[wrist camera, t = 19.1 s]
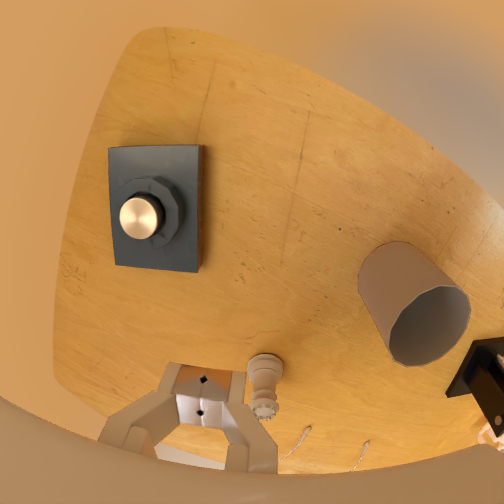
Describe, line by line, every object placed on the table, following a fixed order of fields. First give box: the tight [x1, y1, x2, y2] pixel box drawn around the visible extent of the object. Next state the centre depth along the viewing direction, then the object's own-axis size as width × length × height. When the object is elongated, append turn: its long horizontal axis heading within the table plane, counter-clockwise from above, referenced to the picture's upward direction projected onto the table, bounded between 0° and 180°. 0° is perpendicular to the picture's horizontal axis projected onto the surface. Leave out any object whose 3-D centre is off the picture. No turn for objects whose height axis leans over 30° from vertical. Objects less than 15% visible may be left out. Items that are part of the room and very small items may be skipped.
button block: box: [108, 145, 204, 273], centre depth 27 cm, size 12×9×4 cm
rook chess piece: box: [247, 354, 283, 421], centre depth 31 cm, size 4×4×8 cm
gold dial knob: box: [120, 194, 164, 239], centre depth 25 cm, size 4×4×2 cm
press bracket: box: [445, 337, 504, 438], centre depth 28 cm, size 11×9×14 cm
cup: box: [358, 241, 471, 367], centre depth 25 cm, size 8×8×10 cm
